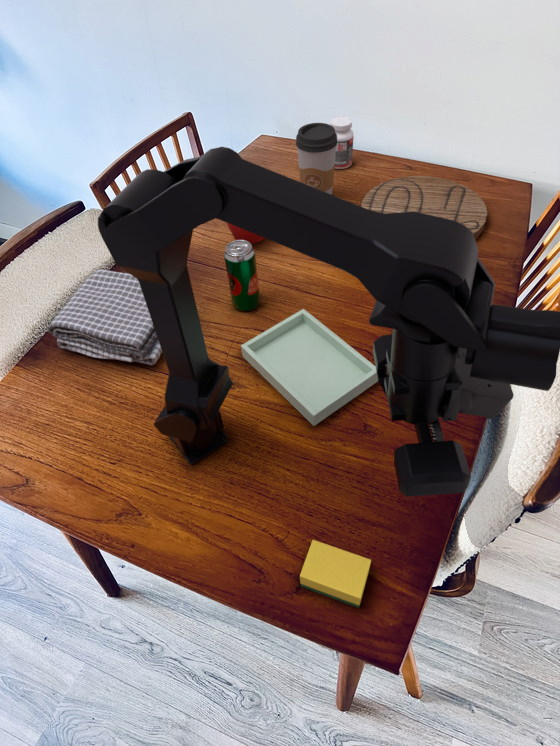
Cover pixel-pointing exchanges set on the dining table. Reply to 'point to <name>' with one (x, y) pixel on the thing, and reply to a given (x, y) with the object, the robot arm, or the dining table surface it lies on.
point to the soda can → (242, 275)
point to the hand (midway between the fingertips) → (409, 451)
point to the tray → (309, 365)
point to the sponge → (335, 573)
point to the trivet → (429, 200)
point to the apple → (244, 234)
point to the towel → (108, 320)
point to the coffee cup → (317, 155)
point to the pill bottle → (343, 142)
